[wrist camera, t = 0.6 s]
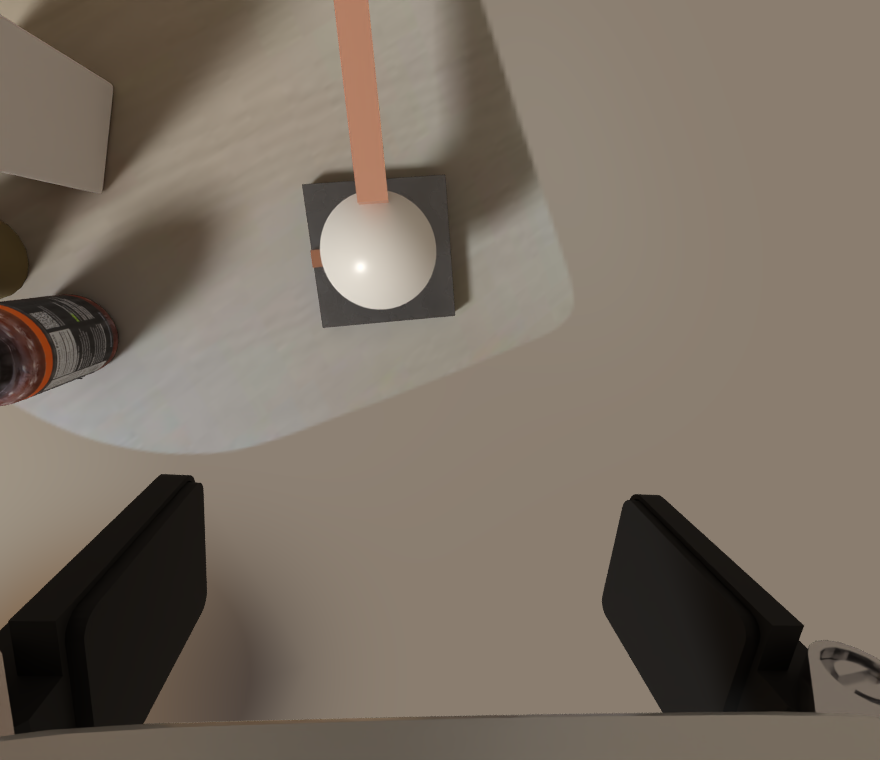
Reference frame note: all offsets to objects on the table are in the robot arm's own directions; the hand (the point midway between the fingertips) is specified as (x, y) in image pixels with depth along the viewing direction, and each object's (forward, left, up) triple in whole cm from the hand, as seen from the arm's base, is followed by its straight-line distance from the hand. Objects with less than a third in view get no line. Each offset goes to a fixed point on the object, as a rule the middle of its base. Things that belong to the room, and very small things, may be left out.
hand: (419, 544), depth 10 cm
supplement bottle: (-3, -24, -28) cm, 37 cm away
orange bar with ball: (-11, -1, -21) cm, 24 cm away
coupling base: (-7, -1, -28) cm, 29 cm away
